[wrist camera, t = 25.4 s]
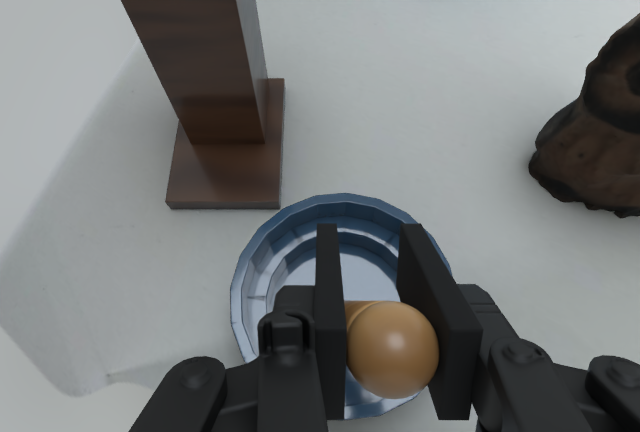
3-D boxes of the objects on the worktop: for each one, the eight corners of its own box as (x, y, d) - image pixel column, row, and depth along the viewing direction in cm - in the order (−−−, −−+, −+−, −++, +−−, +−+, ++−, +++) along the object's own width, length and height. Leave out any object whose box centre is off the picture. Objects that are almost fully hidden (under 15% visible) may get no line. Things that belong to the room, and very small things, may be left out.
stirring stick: (474, 409, 9) (466, 300, 10) (332, 411, 9) (330, 301, 10) (356, 331, 33) (355, 300, 34) (315, 331, 33) (315, 300, 34)
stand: (280, 209, 38) (185, -279, 11) (170, 209, 38) (-197, -280, 11) (285, 80, 45) (233, -435, 17) (191, 80, 45) (-12, -437, 17)
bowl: (382, 461, 30) (396, 473, 25) (205, 347, 33) (183, 336, 28) (464, 277, 36) (490, 254, 30) (306, 195, 39) (304, 161, 34)
